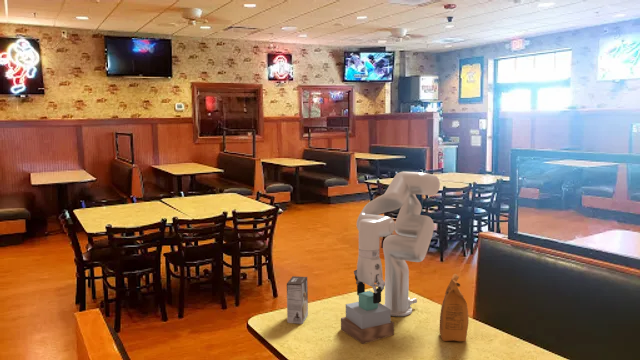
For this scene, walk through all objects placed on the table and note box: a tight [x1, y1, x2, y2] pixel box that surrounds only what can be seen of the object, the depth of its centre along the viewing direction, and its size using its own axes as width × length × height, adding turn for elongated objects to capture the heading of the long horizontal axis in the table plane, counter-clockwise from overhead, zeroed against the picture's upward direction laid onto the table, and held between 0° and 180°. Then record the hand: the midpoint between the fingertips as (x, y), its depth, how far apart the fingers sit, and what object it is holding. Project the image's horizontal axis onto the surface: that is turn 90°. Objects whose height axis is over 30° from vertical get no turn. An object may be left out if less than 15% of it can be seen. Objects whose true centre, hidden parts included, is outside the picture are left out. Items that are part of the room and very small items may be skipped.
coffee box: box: [286, 275, 309, 325], centre depth 192 cm, size 9×6×16 cm
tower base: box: [340, 316, 395, 345], centre depth 181 cm, size 14×14×5 cm
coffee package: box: [439, 273, 469, 342], centre depth 176 cm, size 10×12×22 cm
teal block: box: [358, 290, 378, 311], centre depth 180 cm, size 5×5×5 cm
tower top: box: [345, 301, 392, 329], centre depth 180 cm, size 12×12×5 cm
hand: (368, 298), depth 179 cm, fingers open, 9 cm apart
